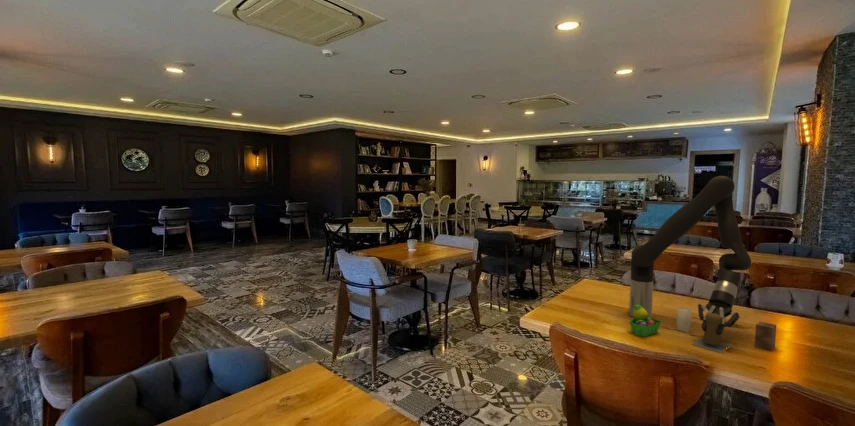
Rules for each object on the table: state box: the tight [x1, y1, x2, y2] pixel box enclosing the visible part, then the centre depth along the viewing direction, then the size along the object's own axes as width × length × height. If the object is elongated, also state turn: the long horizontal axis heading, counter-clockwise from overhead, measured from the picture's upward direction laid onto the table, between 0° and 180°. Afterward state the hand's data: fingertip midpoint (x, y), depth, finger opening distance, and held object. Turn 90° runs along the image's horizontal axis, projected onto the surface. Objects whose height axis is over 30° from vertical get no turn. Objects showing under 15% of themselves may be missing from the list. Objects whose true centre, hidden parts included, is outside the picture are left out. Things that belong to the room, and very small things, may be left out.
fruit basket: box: [628, 305, 662, 338], centre depth 166 cm, size 11×9×11 cm
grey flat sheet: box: [691, 337, 732, 354], centre depth 153 cm, size 10×10×1 cm
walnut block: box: [754, 321, 777, 352], centre depth 151 cm, size 5×5×9 cm
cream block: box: [675, 306, 692, 333], centre depth 168 cm, size 5×5×9 cm
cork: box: [702, 313, 723, 345], centre depth 153 cm, size 6×6×11 cm
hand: (711, 331), depth 152 cm, fingers closed on cork, 4 cm apart
